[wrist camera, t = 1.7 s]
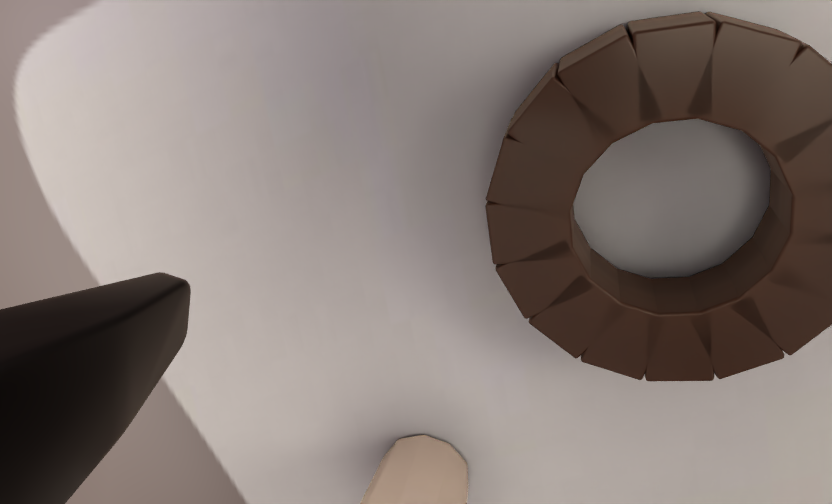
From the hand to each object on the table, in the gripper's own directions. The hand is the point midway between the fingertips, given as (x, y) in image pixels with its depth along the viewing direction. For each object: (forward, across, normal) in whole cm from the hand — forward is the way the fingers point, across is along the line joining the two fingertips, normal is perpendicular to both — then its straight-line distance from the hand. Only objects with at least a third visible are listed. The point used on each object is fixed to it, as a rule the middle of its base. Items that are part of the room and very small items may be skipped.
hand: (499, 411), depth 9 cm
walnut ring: (+12, -4, 0) cm, 12 cm away
